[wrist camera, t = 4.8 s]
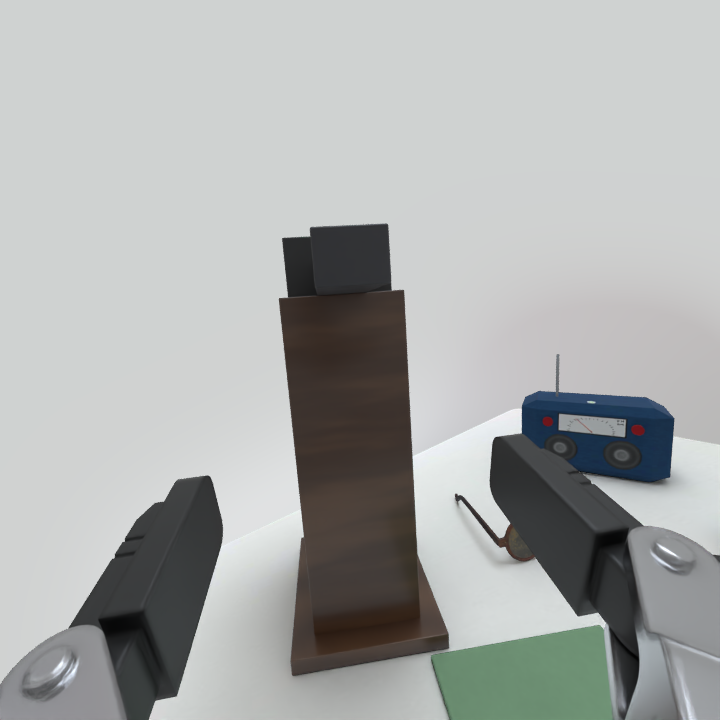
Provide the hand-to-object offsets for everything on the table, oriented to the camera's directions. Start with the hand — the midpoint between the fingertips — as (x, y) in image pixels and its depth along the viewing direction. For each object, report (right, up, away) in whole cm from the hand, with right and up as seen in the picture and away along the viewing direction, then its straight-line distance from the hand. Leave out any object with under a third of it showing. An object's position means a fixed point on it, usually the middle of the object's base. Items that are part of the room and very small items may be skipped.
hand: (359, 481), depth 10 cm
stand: (0, -22, +28) cm, 36 cm away
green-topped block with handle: (-1, +9, +18) cm, 20 cm away
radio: (+41, -16, +51) cm, 67 cm away
